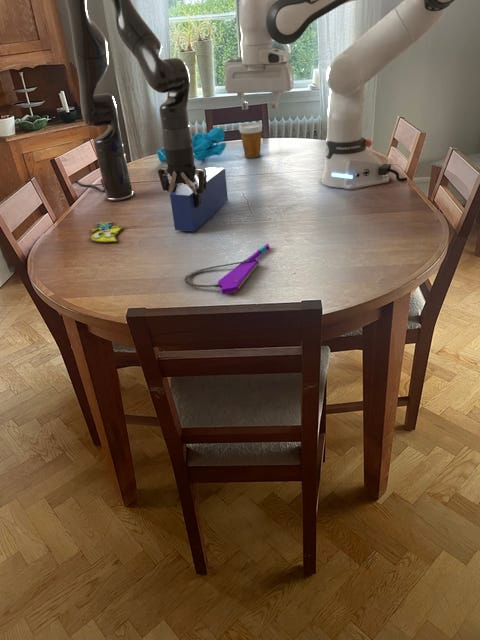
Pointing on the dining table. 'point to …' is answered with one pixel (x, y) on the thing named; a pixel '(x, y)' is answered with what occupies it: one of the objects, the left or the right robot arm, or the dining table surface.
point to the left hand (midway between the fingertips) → (186, 205)
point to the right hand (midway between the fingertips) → (259, 108)
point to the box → (210, 201)
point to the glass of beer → (251, 139)
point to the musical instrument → (234, 273)
